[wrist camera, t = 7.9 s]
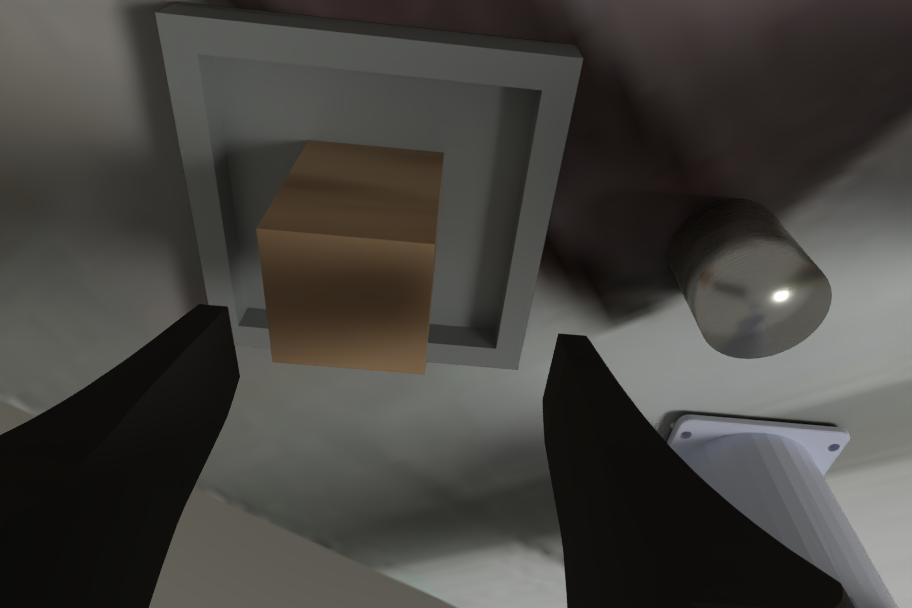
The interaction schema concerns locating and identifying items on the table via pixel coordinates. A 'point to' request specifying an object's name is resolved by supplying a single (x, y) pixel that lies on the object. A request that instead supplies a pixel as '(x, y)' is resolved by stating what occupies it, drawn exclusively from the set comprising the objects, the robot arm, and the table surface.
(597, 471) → the robot arm
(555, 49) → the tray
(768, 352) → the grey metal cylinder
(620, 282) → the table surface
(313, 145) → the walnut block
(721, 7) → the table surface
